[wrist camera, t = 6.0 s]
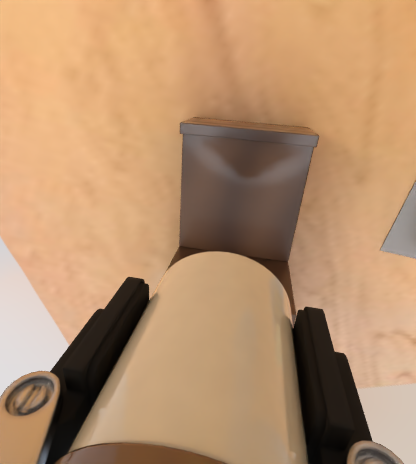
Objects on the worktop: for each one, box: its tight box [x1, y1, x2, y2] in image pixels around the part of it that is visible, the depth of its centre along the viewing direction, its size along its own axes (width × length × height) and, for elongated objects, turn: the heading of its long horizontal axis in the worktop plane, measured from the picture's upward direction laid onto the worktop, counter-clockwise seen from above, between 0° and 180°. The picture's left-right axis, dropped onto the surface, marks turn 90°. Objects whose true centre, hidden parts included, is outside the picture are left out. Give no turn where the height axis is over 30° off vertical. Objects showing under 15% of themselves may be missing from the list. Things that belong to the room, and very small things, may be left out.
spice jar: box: [54, 251, 309, 464], centre depth 8 cm, size 6×6×8 cm
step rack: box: [167, 117, 319, 326], centre depth 25 cm, size 10×23×13 cm, turn 176°
